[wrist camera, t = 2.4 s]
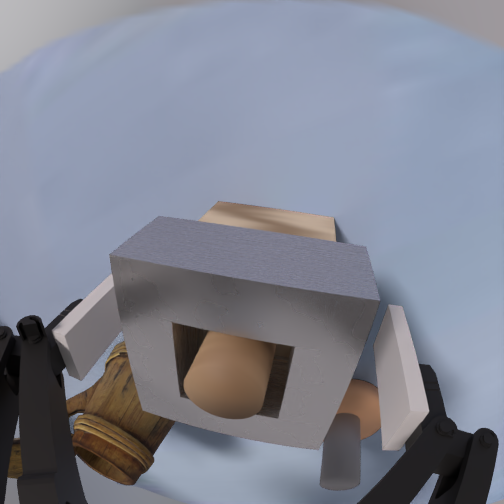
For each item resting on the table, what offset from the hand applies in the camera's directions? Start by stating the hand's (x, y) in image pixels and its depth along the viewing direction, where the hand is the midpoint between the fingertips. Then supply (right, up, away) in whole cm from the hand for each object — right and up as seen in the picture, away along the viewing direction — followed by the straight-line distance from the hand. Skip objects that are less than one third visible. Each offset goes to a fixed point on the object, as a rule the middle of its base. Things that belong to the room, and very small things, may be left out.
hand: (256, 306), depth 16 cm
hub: (+8, -11, +9) cm, 16 cm away
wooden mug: (-12, -8, +13) cm, 19 cm away
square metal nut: (0, 0, -1) cm, 1 cm away
